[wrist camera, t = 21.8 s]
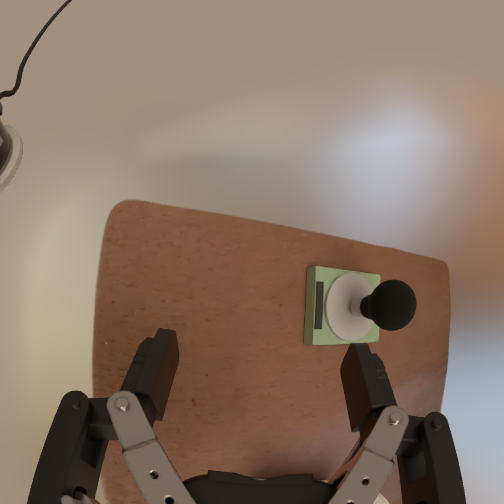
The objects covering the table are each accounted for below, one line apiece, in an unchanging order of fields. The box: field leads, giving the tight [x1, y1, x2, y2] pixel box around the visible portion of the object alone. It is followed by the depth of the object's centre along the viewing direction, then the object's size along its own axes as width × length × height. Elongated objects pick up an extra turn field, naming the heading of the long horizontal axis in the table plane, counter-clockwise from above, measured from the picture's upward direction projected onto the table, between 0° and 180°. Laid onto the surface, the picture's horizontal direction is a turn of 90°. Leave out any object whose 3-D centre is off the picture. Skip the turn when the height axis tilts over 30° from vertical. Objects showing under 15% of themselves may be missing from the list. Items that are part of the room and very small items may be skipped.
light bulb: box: [351, 280, 416, 331], centre depth 30 cm, size 6×6×10 cm
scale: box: [304, 266, 380, 345], centre depth 36 cm, size 12×10×3 cm
